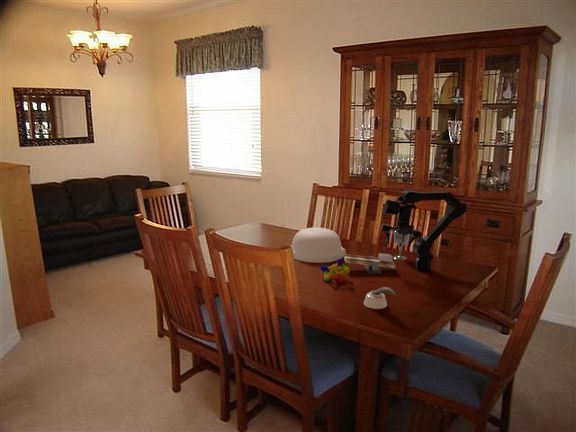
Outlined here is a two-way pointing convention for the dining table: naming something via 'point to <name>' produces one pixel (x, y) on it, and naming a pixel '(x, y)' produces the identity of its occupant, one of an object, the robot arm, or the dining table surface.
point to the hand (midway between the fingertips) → (397, 247)
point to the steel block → (385, 258)
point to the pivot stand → (373, 268)
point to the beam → (366, 261)
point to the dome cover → (317, 245)
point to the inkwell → (377, 298)
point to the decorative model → (335, 271)
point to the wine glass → (400, 243)
